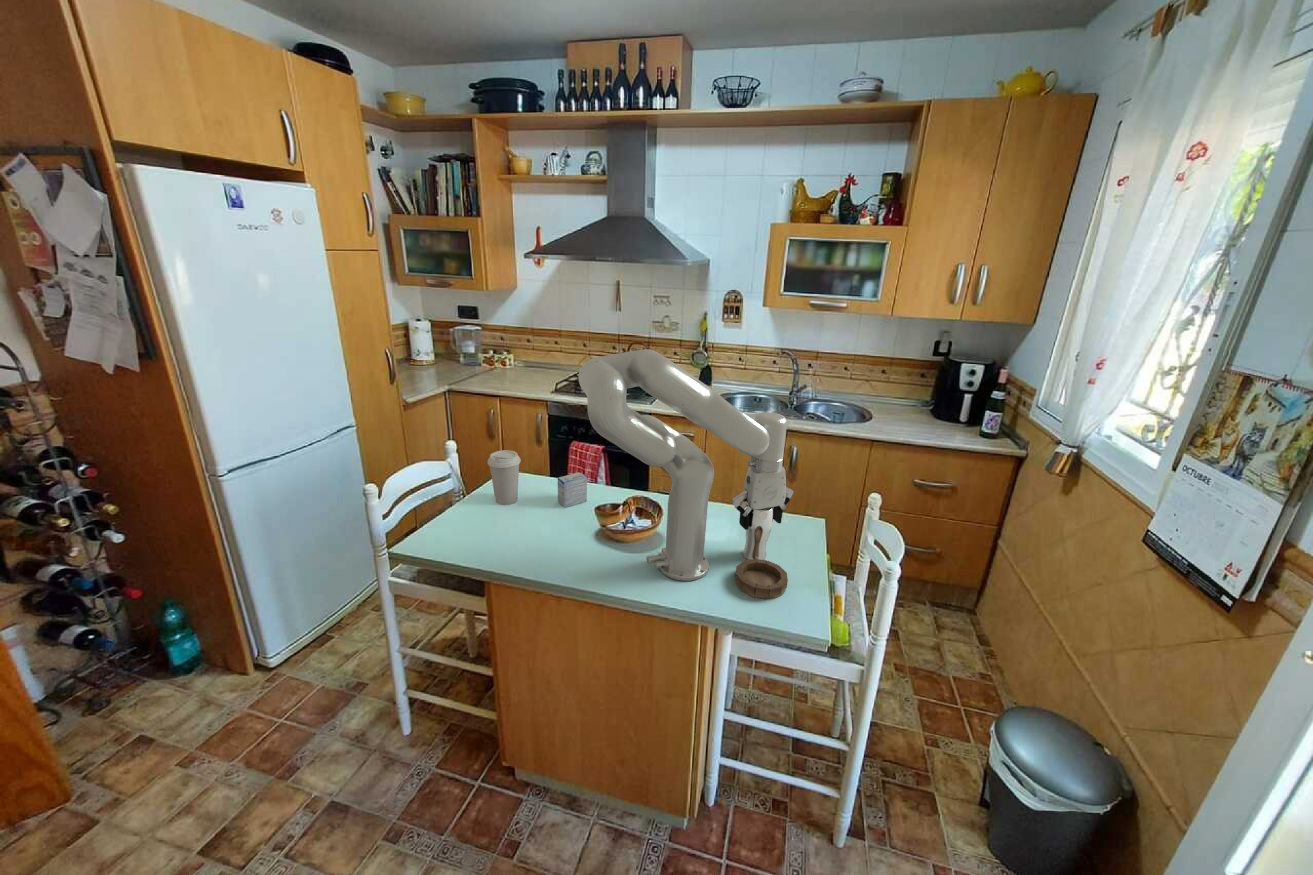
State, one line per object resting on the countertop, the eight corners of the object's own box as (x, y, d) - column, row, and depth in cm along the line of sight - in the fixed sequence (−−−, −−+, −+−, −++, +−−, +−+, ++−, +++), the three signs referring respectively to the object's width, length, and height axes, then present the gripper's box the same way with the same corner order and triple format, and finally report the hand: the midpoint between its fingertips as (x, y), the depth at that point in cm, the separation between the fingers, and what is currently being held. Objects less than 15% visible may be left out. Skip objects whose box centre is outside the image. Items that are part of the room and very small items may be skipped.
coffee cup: (484, 500, 158) (480, 454, 153) (510, 490, 165) (508, 446, 160) (502, 510, 153) (499, 463, 148) (528, 500, 160) (526, 455, 155)
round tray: (751, 603, 117) (753, 593, 116) (726, 573, 127) (727, 563, 127) (796, 593, 121) (797, 583, 120) (768, 565, 132) (769, 555, 131)
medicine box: (579, 496, 164) (579, 471, 161) (587, 501, 160) (587, 476, 157) (557, 503, 159) (557, 477, 156) (565, 508, 156) (564, 482, 153)
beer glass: (767, 564, 132) (775, 512, 127) (740, 560, 133) (746, 509, 128) (767, 550, 138) (774, 500, 133) (741, 546, 140) (747, 496, 134)
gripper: (743, 473, 121) (738, 537, 126) (805, 464, 126) (797, 525, 132) (728, 461, 127) (723, 522, 133) (787, 453, 133) (780, 512, 139)
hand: (760, 524), depth 133 cm, fingers open, 9 cm apart
